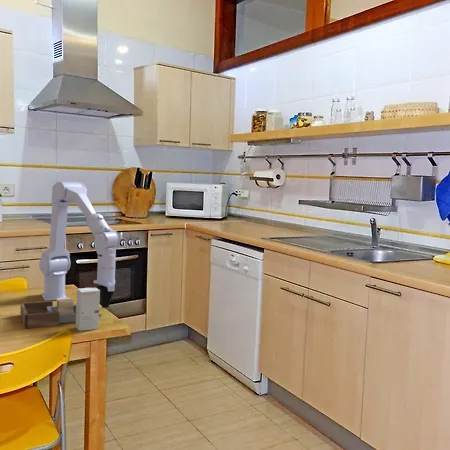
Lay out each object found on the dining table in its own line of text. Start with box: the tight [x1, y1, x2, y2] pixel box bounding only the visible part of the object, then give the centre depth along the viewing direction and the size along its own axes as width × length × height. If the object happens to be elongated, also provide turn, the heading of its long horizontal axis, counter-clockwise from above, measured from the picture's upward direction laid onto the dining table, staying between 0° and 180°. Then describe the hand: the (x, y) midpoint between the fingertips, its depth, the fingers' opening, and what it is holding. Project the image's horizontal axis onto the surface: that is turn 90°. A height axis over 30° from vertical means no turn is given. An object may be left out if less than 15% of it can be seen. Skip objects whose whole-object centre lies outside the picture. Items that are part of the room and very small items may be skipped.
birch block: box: [56, 297, 75, 315], centre depth 156 cm, size 4×4×5 cm
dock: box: [20, 300, 60, 329], centre depth 153 cm, size 14×10×4 cm
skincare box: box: [75, 287, 101, 332], centre depth 148 cm, size 6×4×12 cm
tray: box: [46, 304, 76, 324], centre depth 157 cm, size 13×14×4 cm
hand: (105, 307), depth 162 cm, fingers closed
